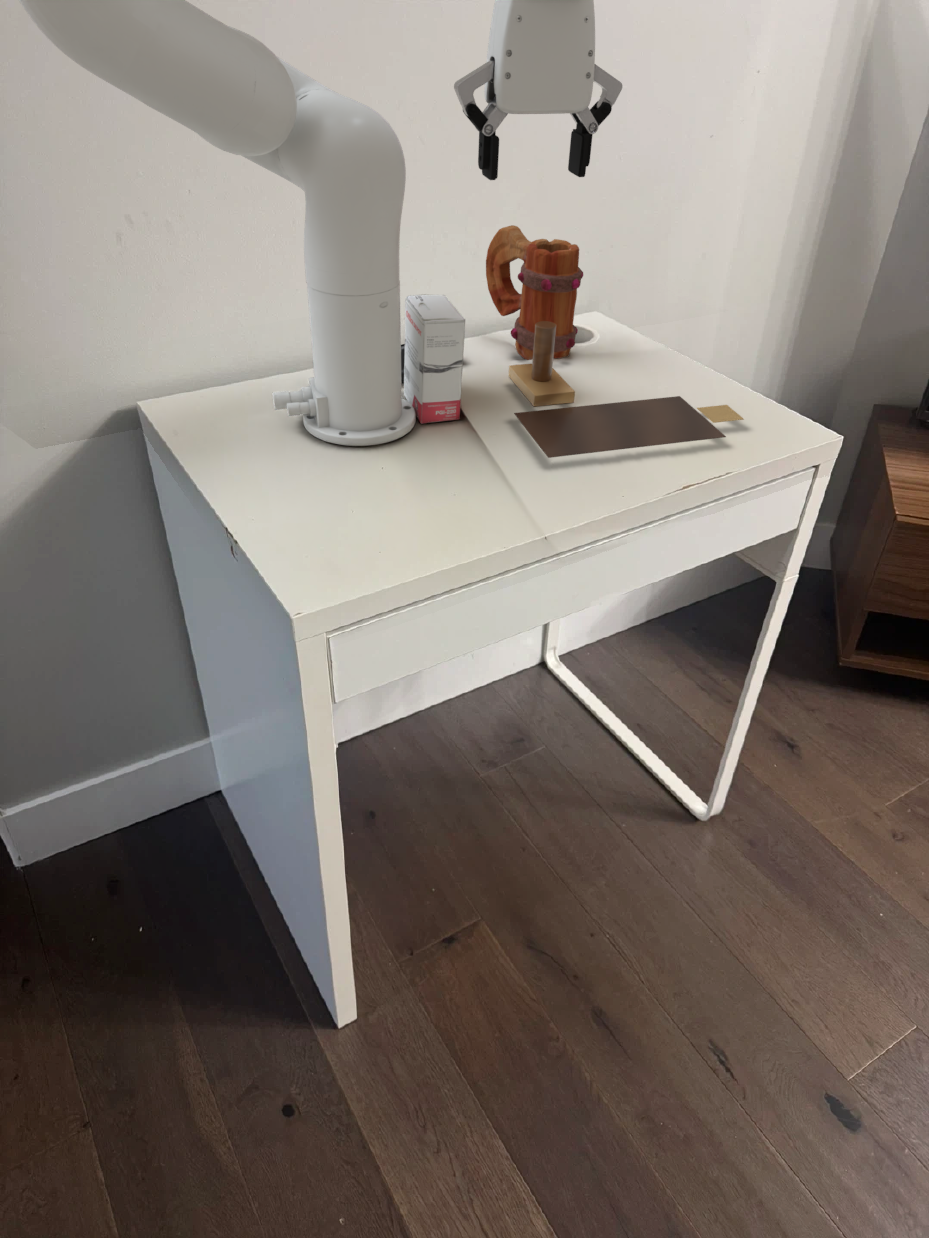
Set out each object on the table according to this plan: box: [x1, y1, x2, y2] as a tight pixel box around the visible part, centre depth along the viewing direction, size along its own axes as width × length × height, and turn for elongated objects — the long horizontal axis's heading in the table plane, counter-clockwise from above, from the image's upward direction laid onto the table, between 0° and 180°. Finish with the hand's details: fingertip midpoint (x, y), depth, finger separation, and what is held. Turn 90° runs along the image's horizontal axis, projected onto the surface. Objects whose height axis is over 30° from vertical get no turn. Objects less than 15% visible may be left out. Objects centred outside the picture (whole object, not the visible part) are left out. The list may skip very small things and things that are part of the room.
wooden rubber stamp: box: [508, 321, 576, 407], centre depth 103 cm, size 5×9×9 cm, turn 17°
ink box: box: [403, 293, 466, 424], centre depth 99 cm, size 9×5×12 cm, turn 17°
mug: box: [485, 225, 584, 361], centre depth 113 cm, size 15×8×15 cm, turn 46°
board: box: [514, 395, 727, 459], centre depth 99 cm, size 21×11×1 cm, turn 107°
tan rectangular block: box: [696, 404, 745, 424], centre depth 102 cm, size 4×4×1 cm
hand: (533, 176), depth 92 cm, fingers open, 9 cm apart
